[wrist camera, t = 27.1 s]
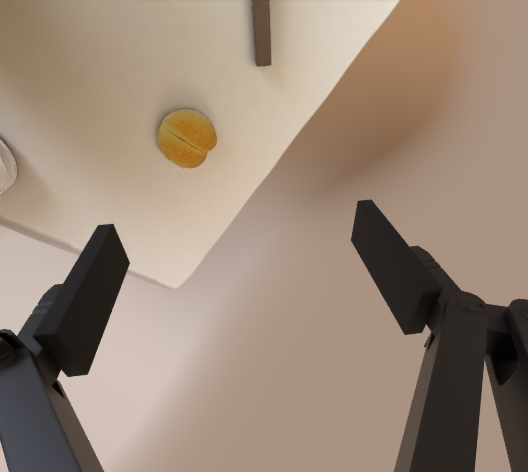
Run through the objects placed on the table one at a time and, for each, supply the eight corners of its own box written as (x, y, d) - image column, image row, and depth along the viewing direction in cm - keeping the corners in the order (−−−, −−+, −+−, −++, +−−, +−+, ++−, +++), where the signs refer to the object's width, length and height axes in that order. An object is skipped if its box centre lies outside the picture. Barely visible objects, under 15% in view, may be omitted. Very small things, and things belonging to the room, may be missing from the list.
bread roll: (225, 129, 47) (225, 137, 43) (194, 170, 50) (192, 181, 47) (179, 93, 43) (176, 99, 40) (149, 141, 46) (144, 150, 43)
